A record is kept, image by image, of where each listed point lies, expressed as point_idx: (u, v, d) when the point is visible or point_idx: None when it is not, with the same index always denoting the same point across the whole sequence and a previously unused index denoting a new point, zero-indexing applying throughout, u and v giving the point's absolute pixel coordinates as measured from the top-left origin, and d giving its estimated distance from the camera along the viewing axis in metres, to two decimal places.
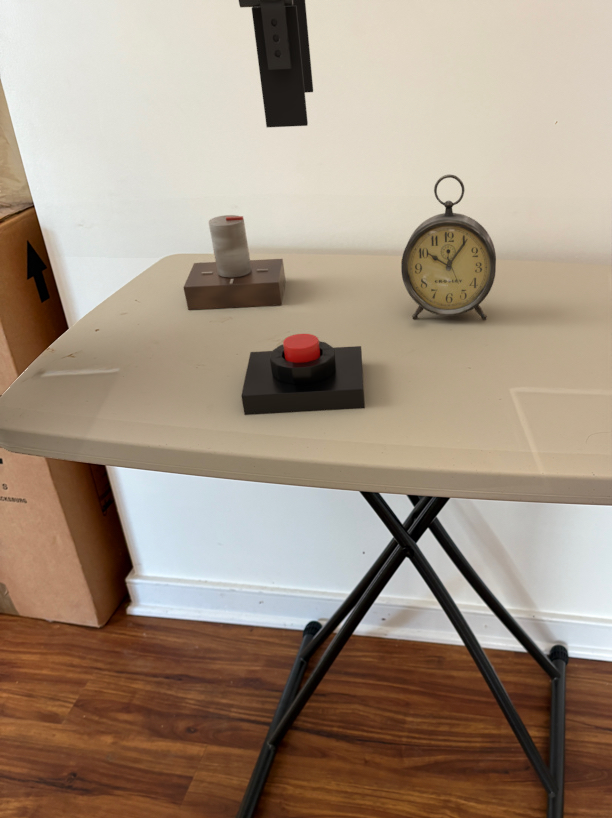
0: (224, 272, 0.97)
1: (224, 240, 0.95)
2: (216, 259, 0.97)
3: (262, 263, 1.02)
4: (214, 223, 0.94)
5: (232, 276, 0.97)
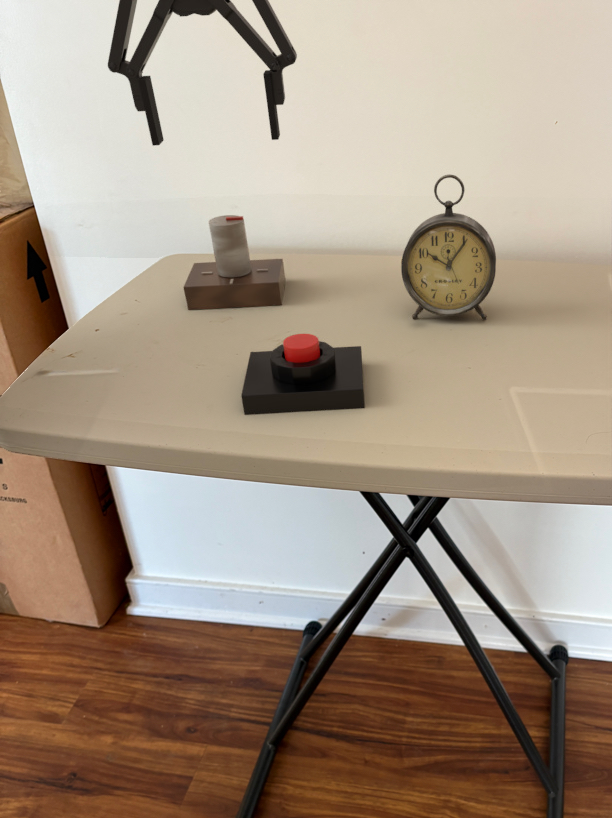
0: (224, 272, 0.97)
1: (224, 240, 0.95)
2: (216, 259, 0.97)
3: (262, 263, 1.02)
4: (214, 223, 0.94)
5: (232, 276, 0.97)
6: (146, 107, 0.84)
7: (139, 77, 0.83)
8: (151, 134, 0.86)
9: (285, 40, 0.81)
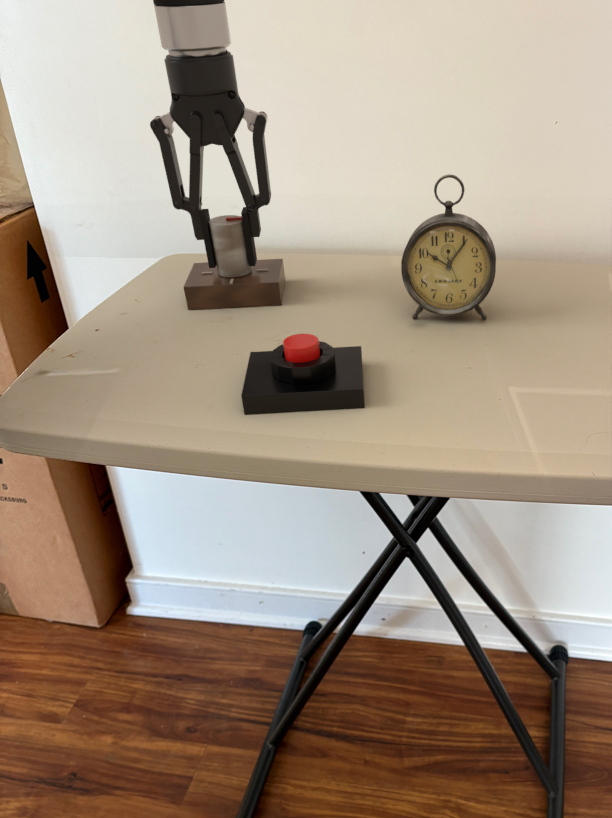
0: (224, 272, 0.97)
1: (224, 240, 0.95)
2: (216, 259, 0.97)
3: (262, 263, 1.02)
4: (214, 223, 0.94)
5: (232, 276, 0.97)
6: (205, 237, 0.95)
7: (200, 212, 0.94)
8: (208, 259, 0.97)
9: (267, 186, 0.92)
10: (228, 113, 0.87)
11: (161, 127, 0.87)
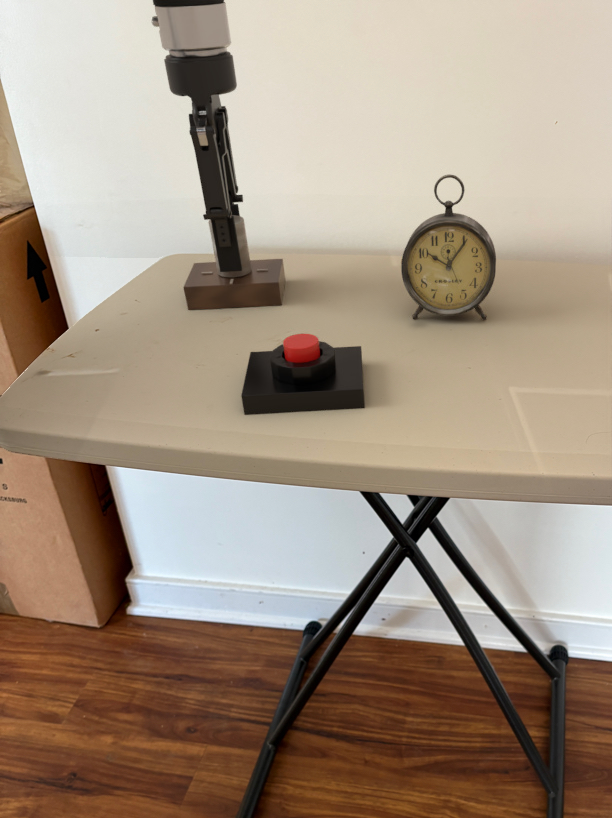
0: (248, 268, 0.98)
1: (245, 234, 0.96)
2: None
3: (262, 263, 1.02)
4: None
5: (251, 269, 0.99)
6: (236, 239, 0.94)
7: None
8: (240, 261, 0.96)
9: (234, 174, 0.97)
10: None
11: None
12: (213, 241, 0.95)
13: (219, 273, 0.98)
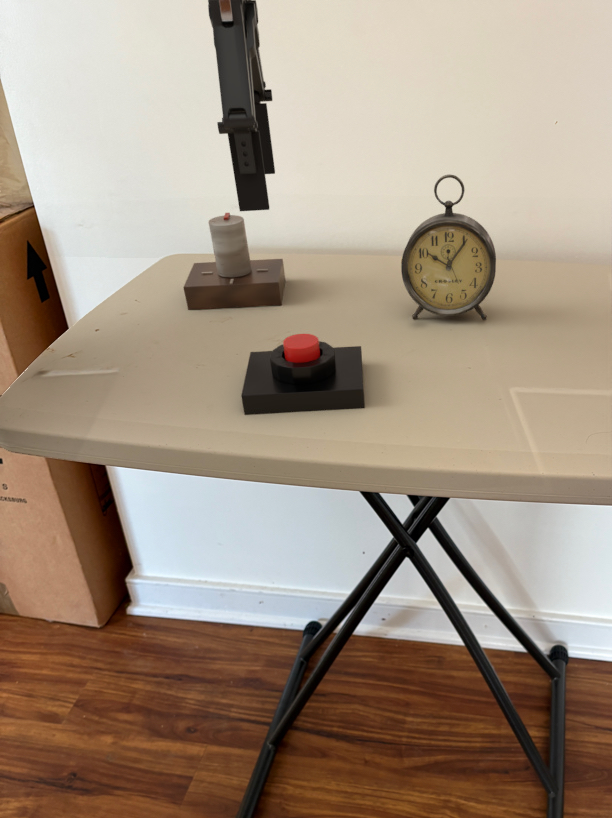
0: (248, 268, 0.98)
1: (245, 234, 0.96)
2: (239, 260, 0.96)
3: (262, 263, 1.02)
4: (234, 222, 0.94)
5: (251, 269, 0.99)
6: (263, 164, 0.68)
7: None
8: (267, 196, 0.70)
9: (261, 66, 0.77)
10: None
11: (241, 7, 0.62)
12: (213, 241, 0.95)
13: (219, 273, 0.98)
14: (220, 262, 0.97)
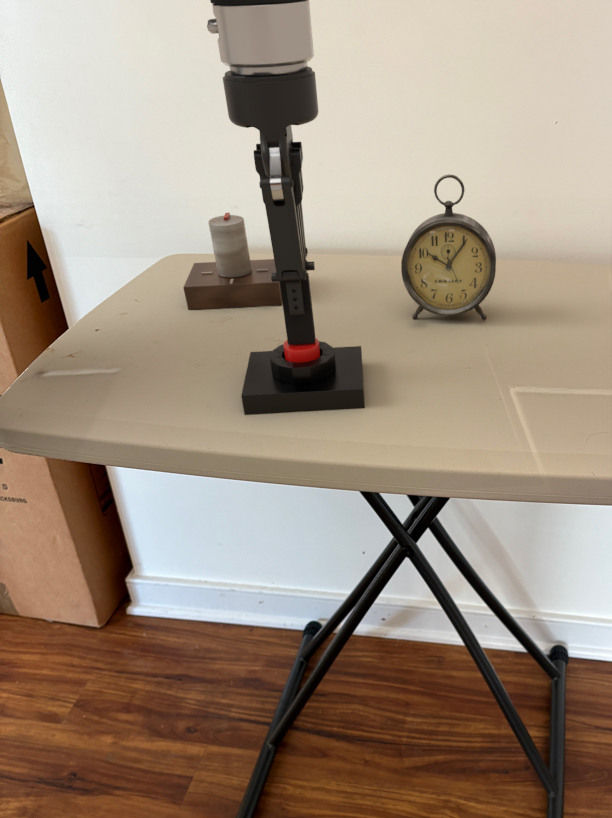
0: (248, 268, 0.98)
1: (245, 234, 0.96)
2: (239, 260, 0.96)
3: (262, 263, 1.02)
4: (234, 222, 0.94)
5: (251, 269, 0.99)
6: (311, 304, 0.74)
7: None
8: (313, 331, 0.75)
9: (304, 233, 0.74)
10: None
11: None
12: (213, 241, 0.95)
13: (219, 273, 0.98)
14: (220, 262, 0.97)
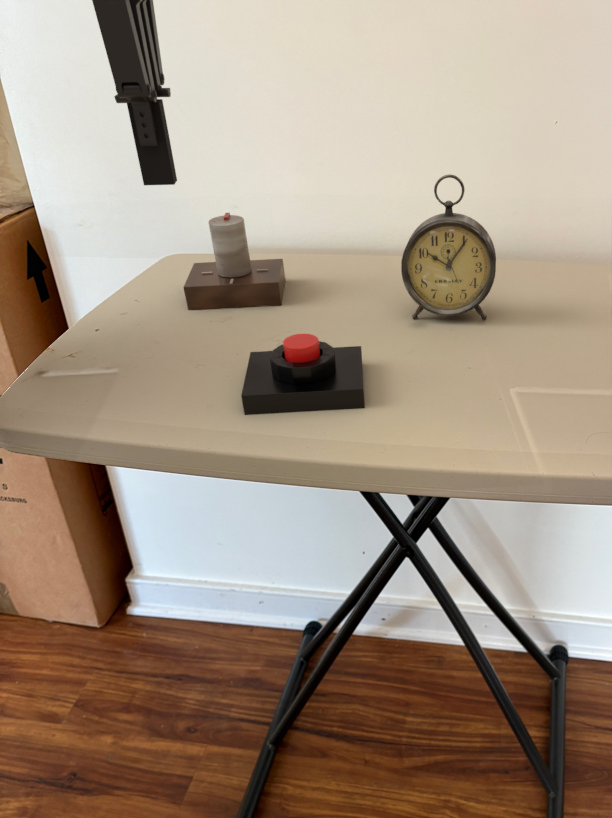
0: (248, 268, 0.98)
1: (245, 234, 0.96)
2: (239, 260, 0.96)
3: (262, 263, 1.02)
4: (234, 222, 0.94)
5: (251, 269, 0.99)
6: (166, 136, 0.66)
7: None
8: (171, 170, 0.68)
9: (160, 56, 0.66)
10: None
11: None
12: (213, 241, 0.95)
13: (219, 273, 0.98)
14: (220, 262, 0.97)
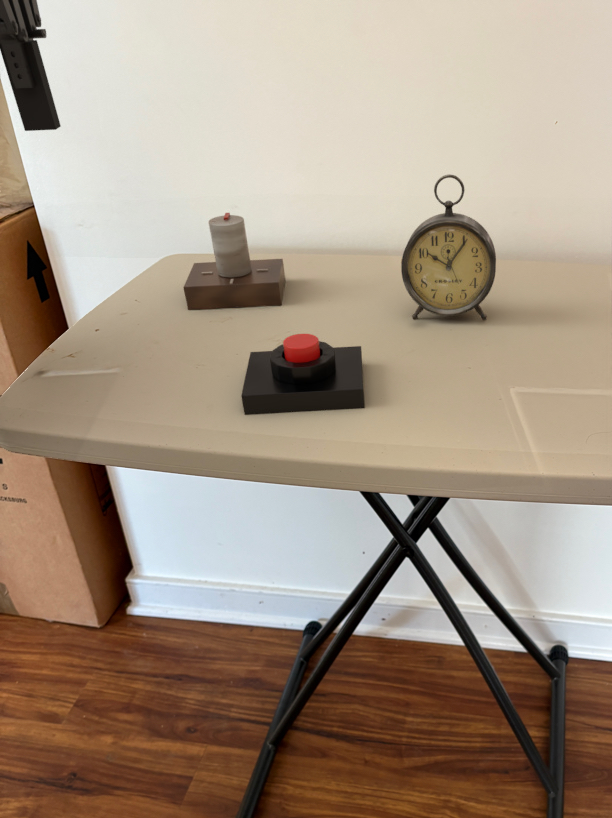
0: (248, 268, 0.98)
1: (245, 234, 0.96)
2: (239, 260, 0.96)
3: (262, 263, 1.02)
4: (234, 222, 0.94)
5: (251, 269, 0.99)
6: (42, 79, 0.65)
7: None
8: (52, 114, 0.66)
9: None
10: None
11: None
12: (213, 241, 0.95)
13: (219, 273, 0.98)
14: (220, 262, 0.97)
